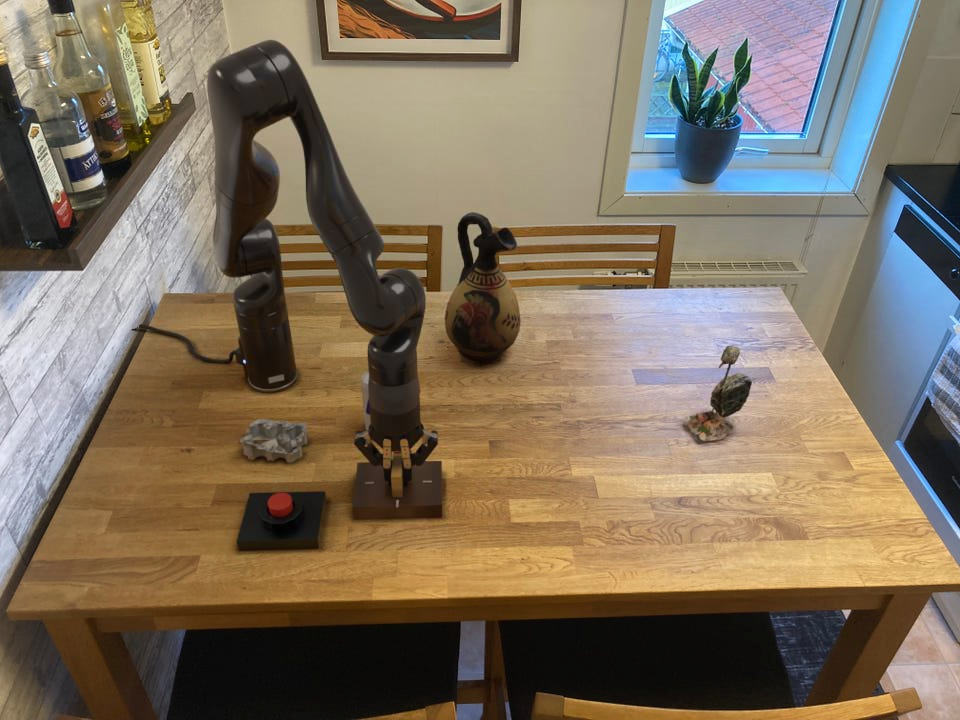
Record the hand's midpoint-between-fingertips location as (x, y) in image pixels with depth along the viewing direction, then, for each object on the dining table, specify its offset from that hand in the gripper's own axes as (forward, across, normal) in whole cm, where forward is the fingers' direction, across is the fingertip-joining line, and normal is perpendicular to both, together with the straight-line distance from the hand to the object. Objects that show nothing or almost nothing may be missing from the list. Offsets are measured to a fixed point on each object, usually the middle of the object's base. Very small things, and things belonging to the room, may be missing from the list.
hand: (398, 480), depth 122 cm
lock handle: (0, 0, 0) cm, 0 cm away
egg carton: (+4, -22, +12) cm, 25 cm away
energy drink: (+3, -4, +16) cm, 17 cm away
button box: (+3, -18, -6) cm, 19 cm away
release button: (0, -18, -6) cm, 19 cm away
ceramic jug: (+3, +14, +41) cm, 44 cm away
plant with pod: (+3, +57, +16) cm, 59 cm away
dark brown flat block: (+3, 0, 0) cm, 3 cm away
